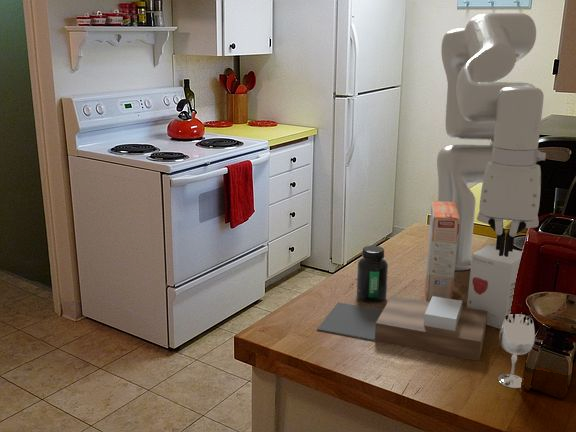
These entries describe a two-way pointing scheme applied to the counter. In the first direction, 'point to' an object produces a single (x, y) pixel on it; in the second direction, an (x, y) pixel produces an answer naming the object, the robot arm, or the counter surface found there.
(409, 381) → the counter surface
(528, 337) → the wineglass
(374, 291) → the supplement bottle
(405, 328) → the brown wooden block
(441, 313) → the tile
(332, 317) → the mat
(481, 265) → the supplement box
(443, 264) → the cracker box
